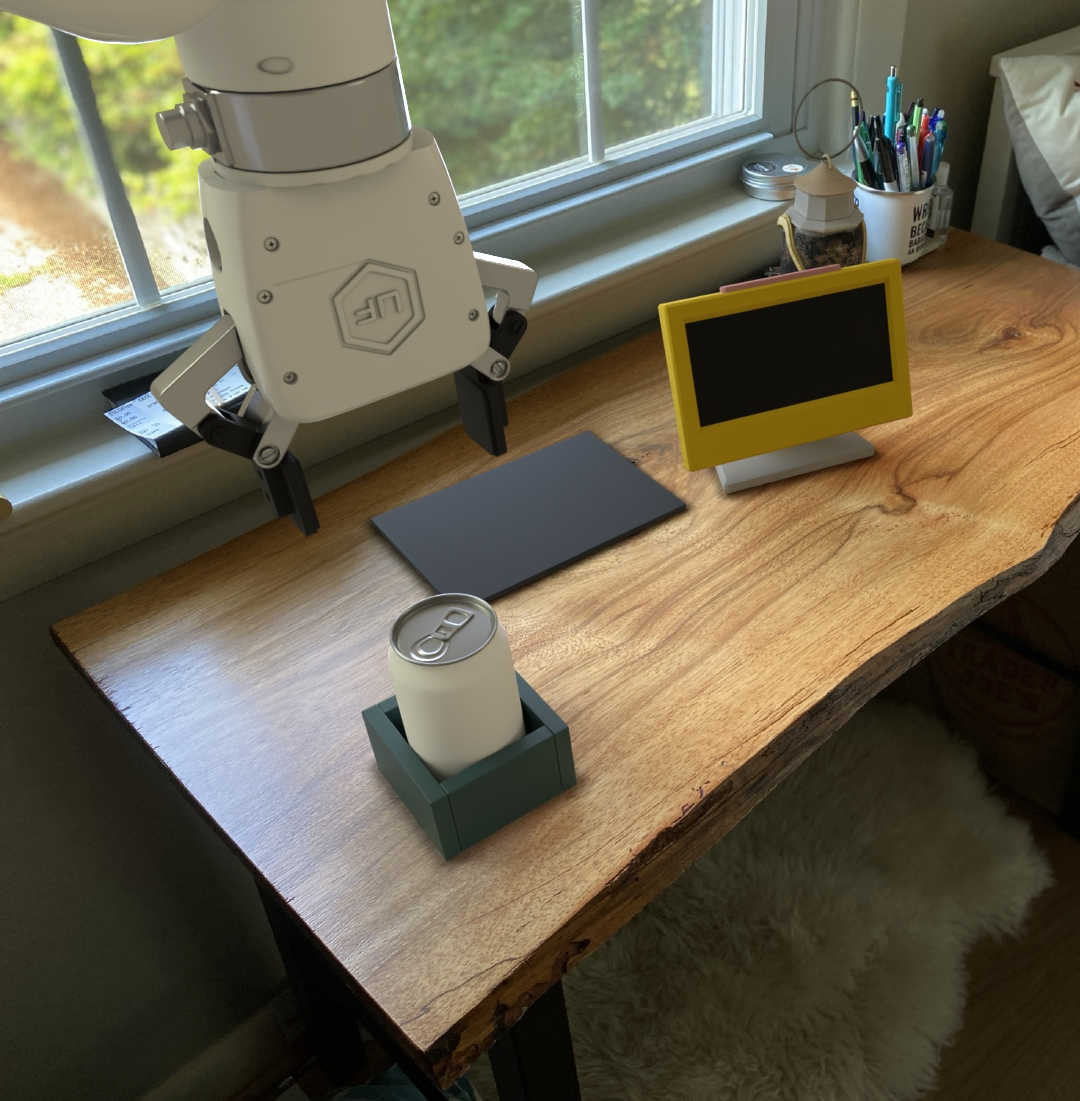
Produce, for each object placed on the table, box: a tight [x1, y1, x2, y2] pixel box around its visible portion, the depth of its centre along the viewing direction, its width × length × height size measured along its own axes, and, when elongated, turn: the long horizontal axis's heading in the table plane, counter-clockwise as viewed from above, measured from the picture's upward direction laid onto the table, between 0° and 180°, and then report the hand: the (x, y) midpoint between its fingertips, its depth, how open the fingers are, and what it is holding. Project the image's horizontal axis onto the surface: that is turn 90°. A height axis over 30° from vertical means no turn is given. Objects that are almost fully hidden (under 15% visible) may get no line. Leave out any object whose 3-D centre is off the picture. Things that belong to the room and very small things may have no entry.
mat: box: [370, 430, 687, 604], centre depth 86 cm, size 20×14×1 cm
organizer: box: [361, 669, 578, 862], centre depth 64 cm, size 9×9×5 cm
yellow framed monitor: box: [657, 257, 914, 495], centre depth 88 cm, size 20×8×16 cm, turn 114°
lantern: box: [776, 77, 868, 275], centre depth 100 cm, size 9×8×25 cm
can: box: [387, 593, 526, 785], centre depth 62 cm, size 6×6×12 cm
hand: (397, 480), depth 53 cm, fingers open, 9 cm apart
